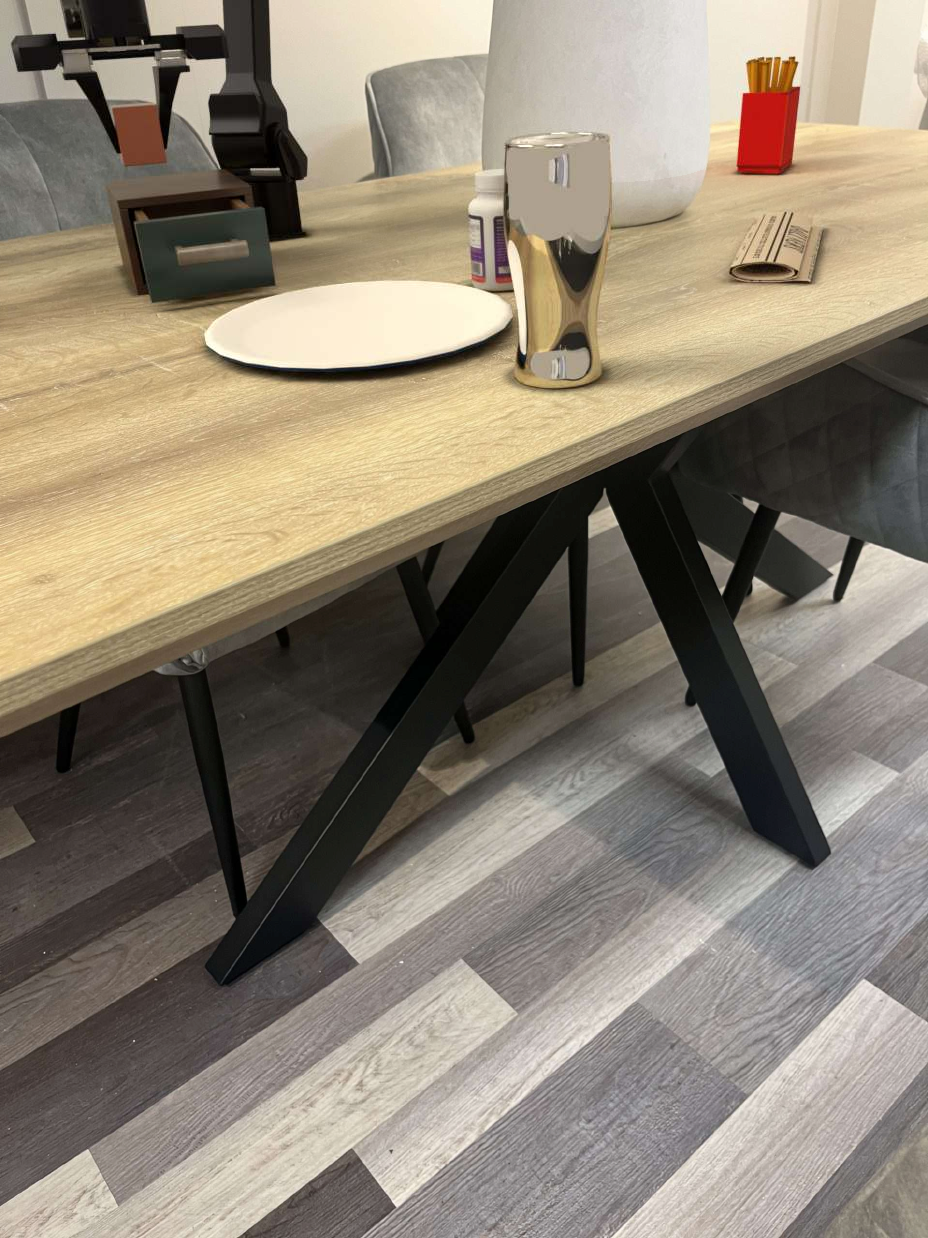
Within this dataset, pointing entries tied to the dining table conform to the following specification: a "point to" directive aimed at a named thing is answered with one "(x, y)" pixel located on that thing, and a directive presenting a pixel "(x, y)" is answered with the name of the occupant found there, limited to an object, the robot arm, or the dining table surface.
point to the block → (138, 134)
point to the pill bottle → (488, 234)
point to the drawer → (202, 248)
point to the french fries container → (768, 117)
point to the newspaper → (778, 249)
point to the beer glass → (557, 251)
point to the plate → (358, 326)
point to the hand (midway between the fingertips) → (142, 150)
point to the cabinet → (164, 192)
